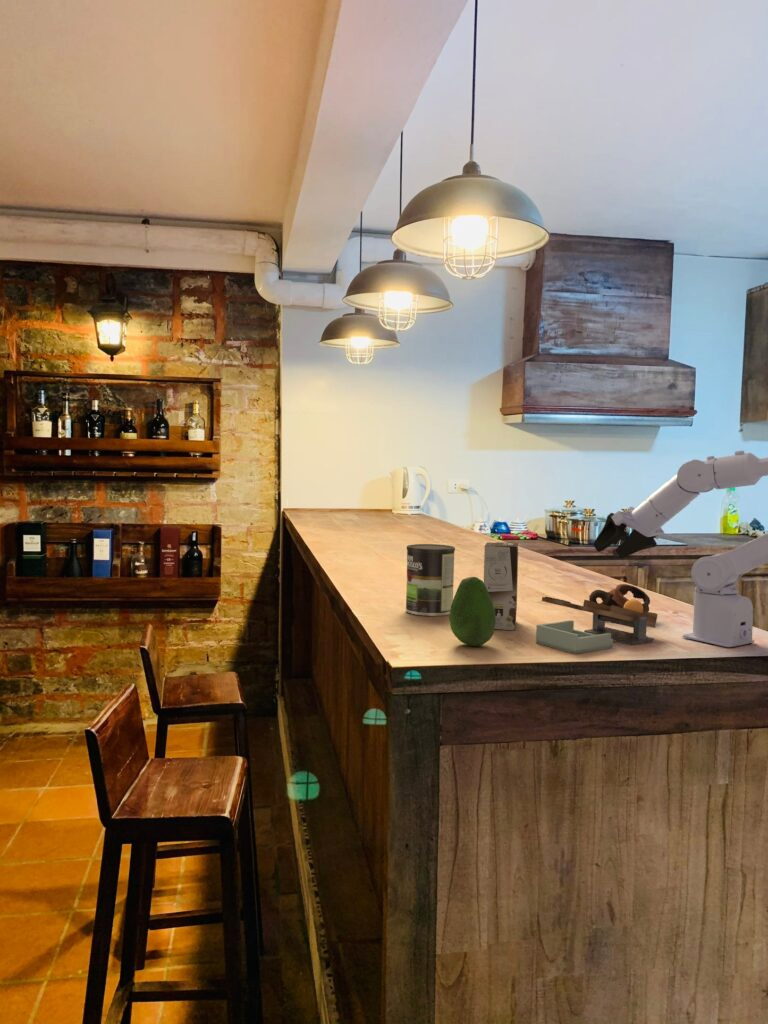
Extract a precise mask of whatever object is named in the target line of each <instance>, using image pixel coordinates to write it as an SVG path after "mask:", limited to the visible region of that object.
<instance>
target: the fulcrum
mask: <svg viewBox="0 0 768 1024" xmlns="http://www.w3.org/2000/svg"><path fill="white" fill-rule="evenodd" d="M646 624H647V618H643V617H638V618H634V625H633V627H632V630H633V631H632V632H633V633H632V632H628V631H624V630H621V629H615V628H612V627H607V626H606V621H602V620H600V615H598V614H595V613H592V629H585V630H584V631H583V632H586V633H590V634H594V635H599V634H606V633H610V634H611V639H613V642H616V641H617V643H620V642H621V644H624V643H625V645H628V644H629V646H636V644H637V645H642V644H641V643H643V644H648V642H649V643H652V642H653V641H654V642H655V638H654V637H650V636H647V626H646ZM654 642H653V643H654Z"/></svg>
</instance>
